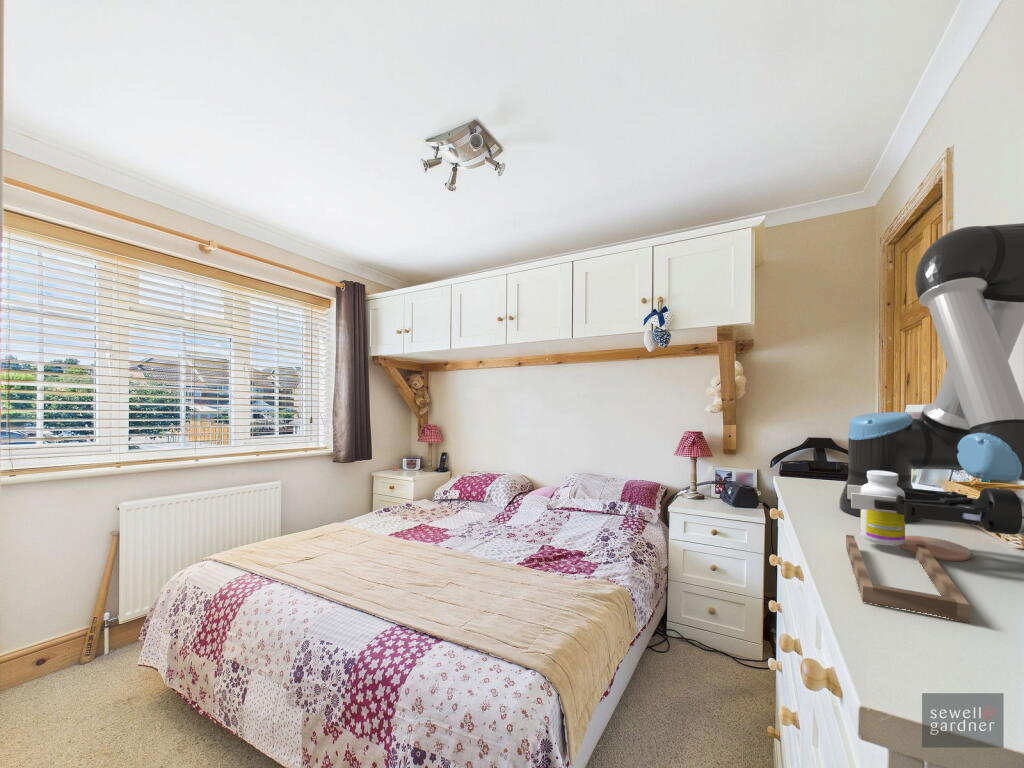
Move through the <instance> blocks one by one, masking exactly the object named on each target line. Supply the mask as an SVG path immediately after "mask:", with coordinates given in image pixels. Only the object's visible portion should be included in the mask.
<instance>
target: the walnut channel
mask: <svg viewBox="0 0 1024 768" xmlns="http://www.w3.org/2000/svg"><path fill="white" fill-rule="evenodd" d="M857 543H858V542H857V540H856V538H855V535H851V534H845V549H846V552H848V553H847V555H848V558H849V559H848V560H849V563H850V562H851V563H850V565H852V566H851V569H852V568H853V569H852V573H853V576H854V575H855V576H854V579H855V578H856V579H855V582H856V581H857V582H856V584H858V586H857V588H858V587H859V589H858V592H859V591H860V592H859V594H861V595H860V598H862V599H861V602H862V601H863V602H866V603H872V604H877V605H880V606H879V607H882V606H888V607H893V608H899V609H906V610H910V611H915V612H921V613H927V614H932V615H937V616H941V617H946V618H949V619H953V620H952V621H955V620H957V621H956V622H960V621H961V623H965V622H966V624H970V611H971V610H970V607H971V606H970V603H969V602H968V600H966V598H965V597H964V596H963V594H962V593H961V591H960V590H959V589H958V587H957V586H956V585H955V583H954V582H953V581H952V579H951V578H950V576H949V575H948V574H947V572H946V571H944V569H943V568H942V567H941V565H940V564H939V562H938V561H937V559H935V558H934V557H933V556H932V554H931V553H930V552H929V550H928V549H927V548H926V546H925V545H919V544H916V554H915V559H916V558H917V559H916V561H917V560H918V561H919V562H918V561H917V562H918V563H920V564H921V565H922V567H923V568H922V567H921V568H922V570H923V569H924V570H925V571H924V570H923V571H924V573H925V572H926V573H927V574H926V573H925V574H926V576H927V575H928V576H929V577H928V576H927V577H928V579H929V578H930V579H931V580H930V579H929V580H930V582H931V581H932V582H933V583H932V582H931V583H932V585H933V584H934V585H935V586H934V585H933V586H934V588H935V587H936V588H937V589H936V588H935V589H936V591H937V590H938V591H937V592H939V593H940V594H939V593H938V594H939V595H938V594H932V593H926V592H921V591H915V590H910V589H904V588H900V587H899V588H898V587H894V586H893V587H892V586H887V585H882V584H875V583H872V581H871V579H870V575H869V572H868V570H867V567H866V565H865V562H864V560H863V556H862V554H861V551H860V549H859V546H858V544H857ZM920 564H919V565H920ZM921 565H920V566H921ZM940 595H941V596H940ZM863 602H862V603H863ZM866 603H865V604H866ZM949 619H948V620H949Z"/></svg>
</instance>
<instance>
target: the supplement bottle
mask: <svg viewBox="0 0 1024 768" xmlns="http://www.w3.org/2000/svg"><path fill="white" fill-rule="evenodd" d="M867 479H868V483H867V484H864V485H863V486H862V487H861V494H869V495H879V496H890V497H896V502H897V495H901V496H903V497H904V499H905V493H904V491H903V490H902V489H901V488H899V487H897V482H898V474H897V473H893V472H888V471H878V470H871V471H867ZM860 536H861V537H862V538H863V539H864V540H865V541H869V542H871V543H874V544H878V545H884V546H898V545H901V544H903V543H904V542H905V536H906V522H905V517H904V515H901V514H898V513H897V511H896V513H892V512H883V511H874V510H865V509H861V517H860Z"/></svg>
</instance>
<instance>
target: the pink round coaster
mask: <svg viewBox="0 0 1024 768" xmlns="http://www.w3.org/2000/svg"><path fill="white" fill-rule="evenodd" d="M916 544H919V545H925V546H926V548H927V549H928V550H929V552H930V553H931V554H932V556H933V557H934V558H935V560H938V559H939V560H940V561H948V562H965V561H969V560H970V559H971V550H970V549H969V548H968V547H966V546H964V545H961V544H959V543H957V542H952V541H949V540H945V539H940V538H935V537H930V536H921V535H905V542H904V543H903V544H901V545H897V546H898V547H899V548H900V549H902V550H904V551H905V552H908V553H910V554H913V555H916Z"/></svg>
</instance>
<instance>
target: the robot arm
mask: <svg viewBox="0 0 1024 768" xmlns="http://www.w3.org/2000/svg"><path fill="white" fill-rule="evenodd" d="M914 279H915V280H914V286H915V288H914V289H915V293H916V295H917V299H918V302H919V304H920V305H921V306H922V307H926V308H928V310H929V312H930V316H931V320H932V322H933V325H934V328H935V331H936V334H937V337H938V340H939V343H940V346H941V349H942V353H943V355H944V358H945V361H946V364H947V366H946V370H945V372H944V374H943V377H942V380H941V384H940V386H939V389H938V392H937V394H936V398H935V400H934V401H933V402H930V403H927V404H926V405H924V407H922V411H921V414H920V416H919V418H913V417H912V414H910V413H908V412H903V411H901V412H899V411H898V412H897V411H889V412H885V411H883V412H872V413H865V414H860V415H856V416H854V417H851V419H850V421H849V423H848V432H847V438H848V439H847V440H848V441H847V442H848V444H847V445H848V449H847V450H848V475H847V476H848V477H847V480H846V482H845V485H844V487H843V489H842V492H841V495H840V496H839V497H840V498H839V509H840V511H843V512H844V513H847V514H850V515H853V516H856V517H859V518H861V509H865V510H874V511H883V512H892V513H896V511H897V513H898V514H901V515H904V517H905V523H914V522H919V521H921V520H930V521H938V522H939V521H940V522H950V523H951V522H952V523H961V524H966V525H967V524H968V525H974V526H982V528H983V529H984V530H985V531H986V532H988V533H992V534H993V533H994V534H1003V535H1011V536H1015V535H1017V534H1019V535H1021V536H1022V537H1024V490H1021V489H1018V490H1017V491H1013V490H1012V489H1005V488H993V487H985V488H982V490H981V491H980V493H979V496H978V497H977V498H972V497H968V495H967V494H963V493H959V492H956V491H941V490H932V489H923V488H914V487H913V485H912V470H949V471H957V472H959V471H960V472H962V471H964V472H965V473H966V474H967V475H969V476H971V477H973V478H976V479H978V480H979V479H980V480H988V481H989V480H992V481H1001V482H1014V481H1015V482H1016V481H1017V482H1019V481H1022V482H1024V400H1023V397H1022V395H1021V392H1020V389H1019V386H1018V384H1017V381H1016V379H1015V376H1014V374H1013V371H1012V368H1011V365H1010V363H1009V360H1010V357H1011V354H1012V352H1013V350H1014V347H1015V345H1016V343H1017V341H1018V338H1019V337H1020V333H1021V330H1022V328H1023V326H1024V223H1011V224H1010V223H1008V224H995V225H984V226H983V225H974V226H973V225H972V226H965V227H961V228H958V229H954V230H952V231H950V232H947V233H945V234H944V235H942V236H941V237H939V238H938V239H936V240H935V241H933V242H932V243H931V244H930V246H929V247H928V248H927V249H926V250H925V252H924V253H923V254H922V257H921V258H920V260H919V262H918V265H917V267H916V272H915V277H914ZM871 470H878V471H888V472H893V473H897V474H898V482H897V487H899V488H901V489H902V490H903V491H904V493H905V499H904V497H903V496H901V495H897V502H896V497H890V496H879V495H869V494H861V487H862V486H863V485H864V484H867V483H868V479H867V471H871Z"/></svg>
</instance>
